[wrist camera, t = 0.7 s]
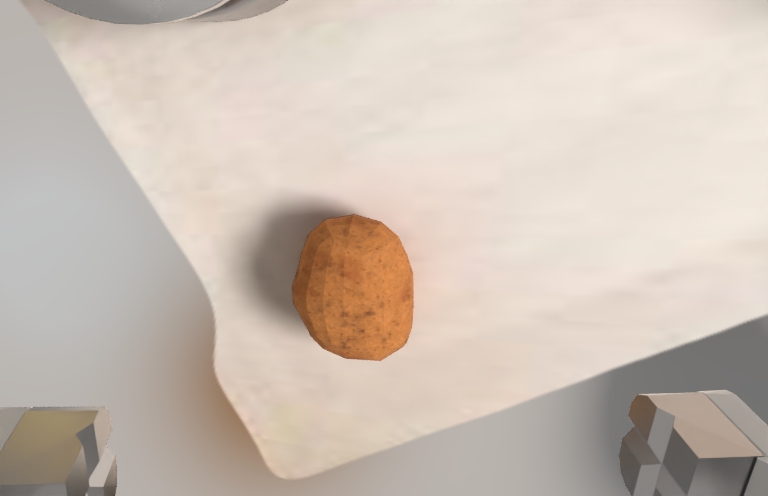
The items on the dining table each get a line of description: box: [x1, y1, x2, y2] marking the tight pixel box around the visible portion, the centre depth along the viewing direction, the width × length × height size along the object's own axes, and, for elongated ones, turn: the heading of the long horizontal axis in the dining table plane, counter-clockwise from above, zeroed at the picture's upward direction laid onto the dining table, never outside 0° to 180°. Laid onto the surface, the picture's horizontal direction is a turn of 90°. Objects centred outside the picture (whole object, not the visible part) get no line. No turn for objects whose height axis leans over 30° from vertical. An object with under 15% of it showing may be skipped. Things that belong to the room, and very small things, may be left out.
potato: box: [292, 214, 413, 361], centre depth 48 cm, size 9×11×8 cm
